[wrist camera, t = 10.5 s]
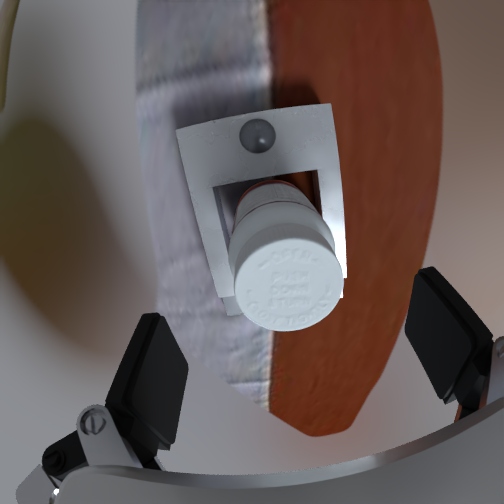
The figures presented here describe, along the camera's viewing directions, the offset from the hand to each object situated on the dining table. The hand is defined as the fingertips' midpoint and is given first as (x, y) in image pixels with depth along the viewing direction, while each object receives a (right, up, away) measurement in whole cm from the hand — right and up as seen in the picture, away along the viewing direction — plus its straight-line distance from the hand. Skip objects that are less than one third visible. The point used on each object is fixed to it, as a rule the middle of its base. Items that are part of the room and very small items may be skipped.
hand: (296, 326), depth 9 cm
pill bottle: (0, +6, +13) cm, 14 cm away
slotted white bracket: (0, +6, +13) cm, 14 cm away
